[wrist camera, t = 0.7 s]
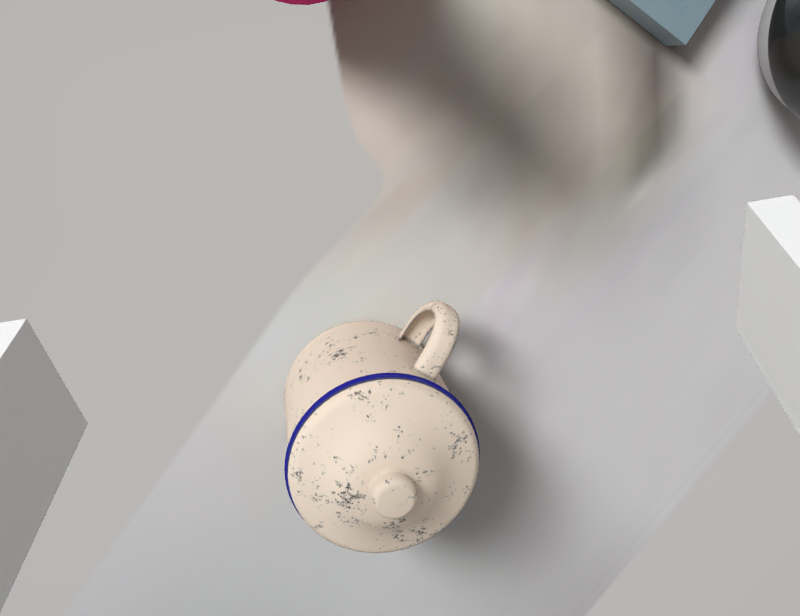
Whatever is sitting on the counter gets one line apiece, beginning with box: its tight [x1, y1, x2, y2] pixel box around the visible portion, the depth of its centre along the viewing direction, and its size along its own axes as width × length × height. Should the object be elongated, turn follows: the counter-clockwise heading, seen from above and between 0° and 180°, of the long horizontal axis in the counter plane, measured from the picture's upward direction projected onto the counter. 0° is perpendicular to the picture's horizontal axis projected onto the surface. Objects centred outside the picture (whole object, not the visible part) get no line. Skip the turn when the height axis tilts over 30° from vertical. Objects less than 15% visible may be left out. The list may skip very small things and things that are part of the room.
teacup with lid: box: [285, 301, 480, 553], centre depth 37 cm, size 12×9×12 cm
